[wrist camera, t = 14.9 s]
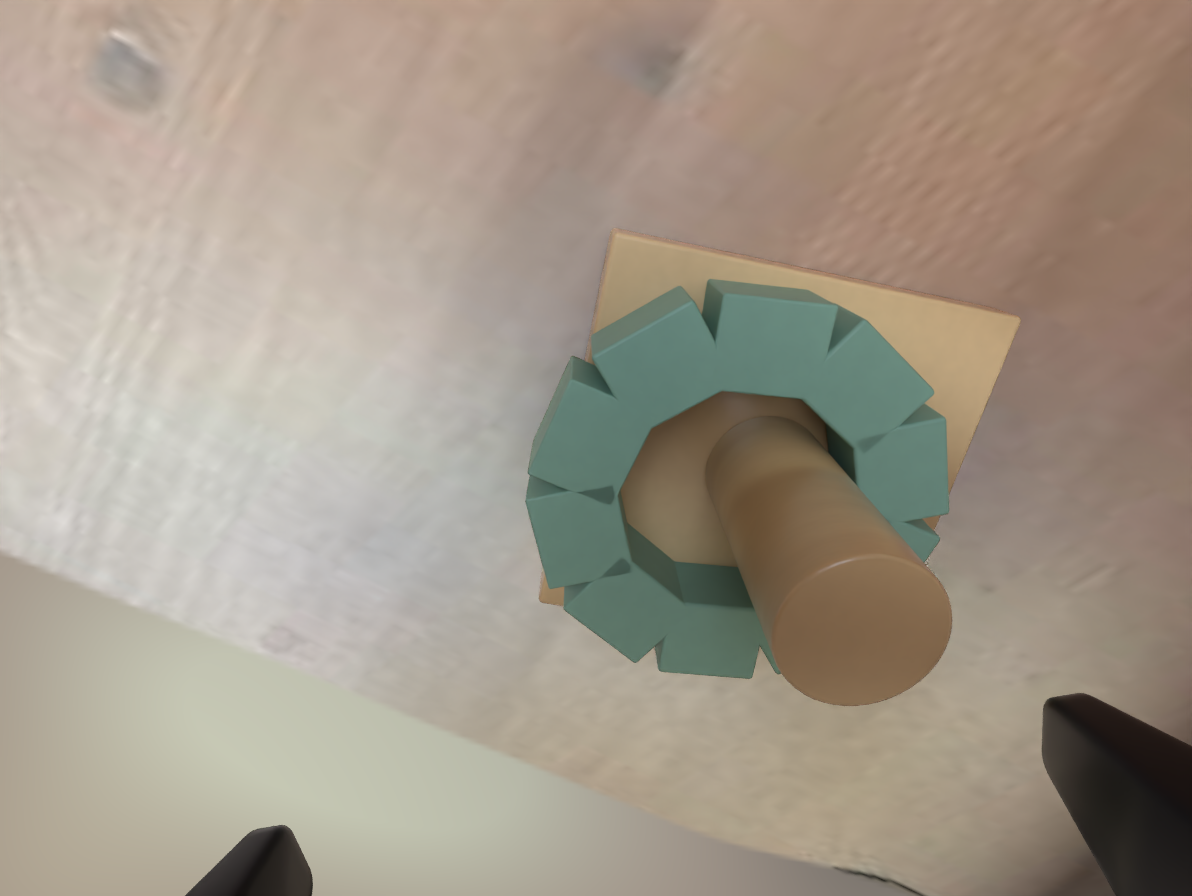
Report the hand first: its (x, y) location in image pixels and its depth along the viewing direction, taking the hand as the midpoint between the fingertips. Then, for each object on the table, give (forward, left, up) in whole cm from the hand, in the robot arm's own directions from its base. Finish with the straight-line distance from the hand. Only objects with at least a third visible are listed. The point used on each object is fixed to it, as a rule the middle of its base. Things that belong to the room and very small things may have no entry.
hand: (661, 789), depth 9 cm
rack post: (+1, -3, -9) cm, 10 cm away
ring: (+1, -2, -8) cm, 8 cm away
